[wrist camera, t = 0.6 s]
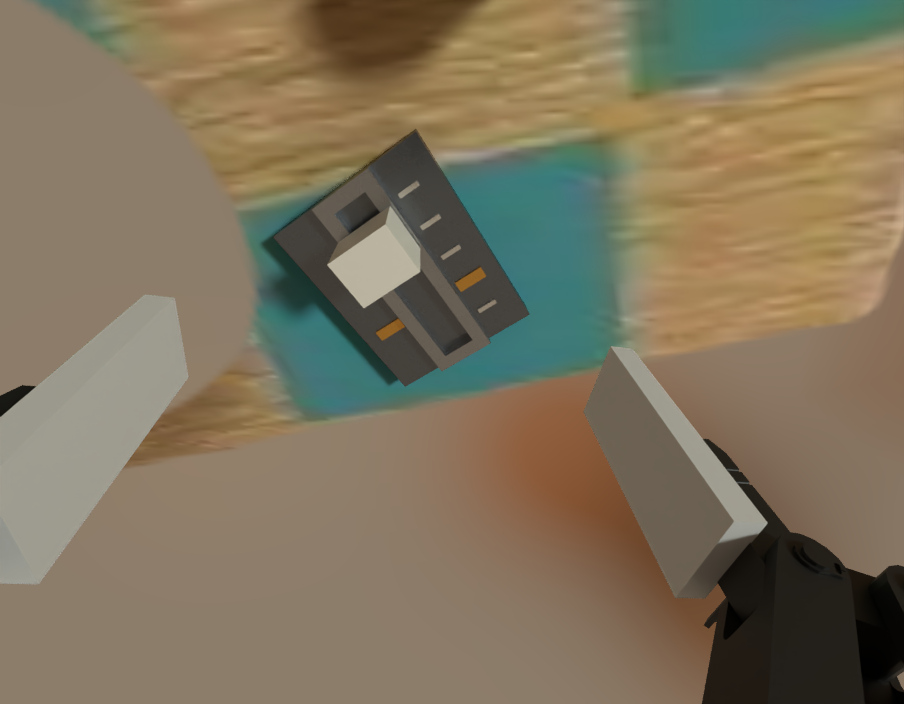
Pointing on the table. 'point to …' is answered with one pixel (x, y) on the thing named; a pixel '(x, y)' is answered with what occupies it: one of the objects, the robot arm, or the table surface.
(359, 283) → the fader tab
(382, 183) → the console
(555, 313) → the table surface
